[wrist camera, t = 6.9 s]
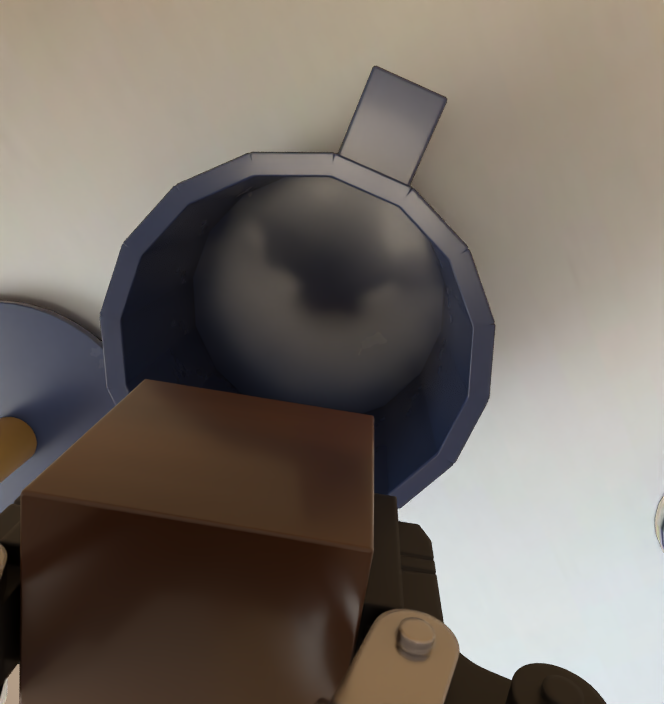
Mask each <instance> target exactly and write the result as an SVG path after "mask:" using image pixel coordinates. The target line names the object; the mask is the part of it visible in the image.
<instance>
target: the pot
mask: <svg viewBox="0 0 664 704" xmlns="http://www.w3.org/2000/svg"><path fill="white" fill-rule="evenodd" d="M446 103H447V98H446V97H444V96H442V95H440V94H438V93H436V92H433V91H431V90H429V89H427V88H425V87H422V86H420V85H418V84H416V83H414V82H411V81H409V80H407V79H405V78H402V77H400V76H398V75H396V74H394V73H391V72H389V71H387V70H385V69H383V68H380V67H378V66H374V67H373V68H372V70H371V73H370V75H369V78H368V80H367V83H366V85H365V88H364V90H363V93H362V95H361V98H360V100H359V102H358V105H357V107H356V110H355V112H354V115H353V117H352V120H351V122H350V125H349V127H348V130H347V132H346V135H345V137H344V139H343V142H342V144H341V147H340V149H339V152H338V154H337V153H333V152H251V153H246V154H244V155H242V156H240V157H237V158H235V159H233V160H230V161H228V162H226V163H224V164H221V165H219V166H217V167H215V168H212V169H210V170H208V171H205V172H203V173H201V174H199V175H196V176H194V177H192V178H189V179H187V180H185V181H183V182H180V183H178V184H177V185H176V186H173V188H172V189H171V190H170V191H169V192H168V193H167V194H166V195H165V196H164V198H163V199H162V200H161V201H160V202H159V203H158V204H157V205H156V206H155V208H154V209H153V210H152V211H151V212H150V213H149V214H148V215H147V217H146V218H145V219H144V220H143V221H142V222H141V223H140V224H139V225H138V227H137V228H136V229H135V230H134V231H133V232H132V233H131V234H130V235H129V237H128V238H127V239H126V240H125V241H124V244H122V246H121V250H120V253H119V256H118V259H117V262H116V265H115V268H114V271H113V275H112V278H111V281H110V284H109V287H108V290H107V293H106V297H105V300H104V303H103V306H102V309H101V312H100V325H101V335H102V346H103V356H104V366H105V377H106V387H107V388H108V392H109V394H110V396H111V398H112V400H113V402H114V403H115V405H117V404H118V403H119V402H120V401H121V400H123V399H124V398H125V397H126V396H127V395H128V394H129V393H130V392H131V391H133V390H134V389H135V388H136V387H137V386H138V385H139V384H140V383H141V382H142V381H144V380H145V379H149V380H155V381H162V382H168V383H174V384H180V385H186V386H193V387H199V388H205V389H211V390H217V391H224V392H230V393H236V394H242V395H248V396H255V397H261V398H267V399H273V400H279V401H286V402H292V403H298V404H304V405H310V406H317V407H323V408H329V409H335V410H341V411H348V412H354V413H360V414H366V415H372V416H374V493H378V494H384V495H390V496H396V498H397V510H398V508H401V507H403V506H404V505H405V504H406V503H407V502H409V501H410V500H411V499H412V498H413V497H415V496H416V495H417V494H418V493H420V492H421V491H422V490H423V489H424V488H426V487H427V486H428V485H429V484H431V483H432V482H433V481H434V480H435V479H437V478H438V477H439V476H440V475H442V474H443V473H444V472H445V471H446V470H448V469H449V468H450V467H451V466H453V464H454V463H455V462H456V461H457V459H458V457H459V455H460V453H461V451H462V449H463V447H464V446H465V444H466V442H467V440H468V438H469V436H470V434H471V433H472V431H473V429H474V427H475V425H476V423H477V421H478V419H479V418H480V416H481V414H482V412H483V410H484V408H485V406H486V404H487V403H488V399H489V398H490V385H491V373H492V361H493V348H494V336H495V324H494V323H495V321H494V318H493V315H492V312H491V310H490V307H489V304H488V301H487V298H486V295H485V292H484V289H483V286H482V284H481V281H480V278H479V275H478V272H477V269H476V266H475V263H474V260H473V258H472V255H471V252H470V250H469V249H468V246H467V245H466V244H465V243H464V242H463V241H462V240H461V239H460V238H459V237H458V235H457V234H456V233H455V232H454V231H453V230H452V229H451V228H450V227H449V226H448V225H447V224H446V222H445V221H444V220H443V219H442V218H441V217H440V216H439V215H438V214H437V213H436V212H435V211H434V209H433V208H432V207H431V206H430V205H429V204H428V203H427V202H426V201H425V200H424V199H423V198H422V196H421V195H420V194H419V193H418V192H417V191H416V190H415V189H414V188H412V187H411V186H410V184H411V182H412V179H413V177H414V175H415V173H416V170H417V168H418V166H419V164H420V161H421V159H422V157H423V155H424V152H425V150H426V148H427V146H428V143H429V141H430V139H431V137H432V134H433V132H434V130H435V128H436V125H437V123H438V121H439V119H440V116H441V114H442V112H443V109H444V107H445V105H446Z"/></svg>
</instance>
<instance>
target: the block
mask: <svg viewBox="0 0 664 704" xmlns="http://www.w3.org/2000/svg"><path fill="white" fill-rule="evenodd" d="M373 553H374V416H372V415H366V414H360V413H354V412H348V411H341V410H335V409H329V408H323V407H317V406H310V405H304V404H298V403H292V402H286V401H279V400H273V399H267V398H261V397H255V396H248V395H242V394H236V393H230V392H224V391H217V390H211V389H205V388H199V387H193V386H186V385H180V384H174V383H168V382H162V381H155V380H149V379H145V380H144V381H142V382H141V383H140V384H139V385H138V386H137V387H136V388H135V389H134V390H133V391H131V392H130V393H129V394H128V395H127V396H126V397H125V398H124V399H123V400H121V401H120V402H119V403H118V404H117V405H116V406H115V407H114V408H113V409H112V410H110V411H109V412H108V413H107V414H106V415H105V416H104V417H103V418H102V419H100V420H99V421H98V422H97V423H96V424H95V425H94V426H93V427H92V428H91V429H89V430H88V431H87V432H86V433H85V434H84V435H83V436H82V437H81V438H79V439H78V440H77V441H76V442H75V443H74V444H73V445H72V446H71V447H70V448H68V449H67V450H66V451H65V452H64V453H63V454H62V455H61V456H60V457H58V458H57V459H56V460H55V461H54V462H53V463H52V464H51V465H50V466H49V467H47V468H46V469H45V470H44V471H43V472H42V473H41V474H40V475H39V476H37V477H36V478H35V479H34V480H33V481H32V482H31V483H30V484H29V485H28V486H26V487H25V488H24V489H23V490H22V492H21V499H20V694H19V699H20V701H19V704H315V703H316V701H317V700H318V699H319V698H320V697H324V698H326V699H328V700H331V698H332V696H333V695H334V693H335V691H336V689H337V687H338V686H339V684H340V682H341V680H342V678H343V676H344V675H345V673H346V671H347V669H348V667H349V666H350V664H351V662H352V660H353V658H354V653H355V647H356V642H357V637H358V632H359V626H360V621H361V616H362V611H363V605H364V600H365V595H366V590H367V584H368V579H369V574H370V569H371V563H372V558H373Z"/></svg>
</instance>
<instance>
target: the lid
mask: <svg viewBox="0 0 664 704" xmlns="http://www.w3.org/2000/svg"><path fill="white" fill-rule="evenodd" d="M115 406H116V405H115V403H114V402H113V400H112V398H111V396H110V394H109V392H108V388H107V387H106V377H105V366H104V356H103V346H102V342H101V341H100V340H99V339H98V338H97V337H95V336H94V335H93V334H92V333H90V332H89V331H88V330H86V329H85V328H83V327H81V326H80V325H78V324H77V323H75V322H74V321H72V320H70V319H68V318H66V317H64V316H62V315H60V314H58V313H56V312H53V311H50V310H47V309H44V308H42V307H39V306H36V305H31V304H26V303H22V302H16V301H5V300H0V513H2V512H3V511H4V510H5V509H6V508H7V507H8V506H9V505H10V504H14V501H15V500H16V499H17V498H18V497H19V496H20V495H21V492H22V490H23V489H24V488H25V487H26V486H28V485H29V484H30V483H31V482H32V481H33V480H34V479H35V478H36V477H37V476H39V475H40V474H41V473H42V472H43V471H44V470H45V469H46V468H47V467H49V466H50V465H51V464H52V463H53V462H54V461H55V460H56V459H57V458H58V457H60V456H61V455H62V454H63V453H64V452H65V451H66V450H67V449H68V448H70V447H71V446H72V445H73V444H74V443H75V442H76V441H77V440H78V439H79V438H81V437H82V436H83V435H84V434H85V433H86V432H87V431H88V430H89V429H91V428H92V427H93V426H94V425H95V424H96V423H97V422H98V421H99V420H100V419H102V418H103V417H104V416H105V415H106V414H107V413H108V412H109V411H110V410H112V409H113V408H114V407H115Z"/></svg>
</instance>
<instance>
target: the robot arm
mask: <svg viewBox="0 0 664 704" xmlns="http://www.w3.org/2000/svg"><path fill="white" fill-rule="evenodd" d="M20 499H21V495H20V496H19V497H18V498H17V499H16V500H15V501H14V504H10V505H9V506H8V507H7V508H6V509H5V510H4V511H3V512H2V513H0V704H5V701H6V697H7V678H8V676H9V675H10V674H11V672H12V671H13V669H14V668H15V667H16V665H17V664H20ZM433 558H434V556H433V550H432V543H431V540H430V539H429V537H428V536H427V535H426V533H425V532H424V531H423V529H422V528H421V527H420V526H419V525H418V524H412V523H406V522H400V521H398V510H397V498H396V496H390V495H384V494H378V493H374V553H373V558H372V563H371V569H370V574H369V579H368V584H367V590H366V595H365V600H364V605H363V611H362V616H361V621H360V626H359V632H358V637H357V642H356V647H355V653H354V658H353V660H352V662H351V664H350V666H349V667H348V669H347V671H346V673H345V675H344V676H343V678H342V680H341V682H340V684H339V686H338V687H337V689H336V691H335V693H334V695H333V696H332V698H331V700H328V699H326V698H324V697H320V698H319V699H318V700H317V701H316V703H315V704H606V702H605V701H604V699H603V698H602V697H601V696H600V694H599V693H598V692H597V691H596V690H595V689H594V688H593V687H592V686H591V685H590V684H589V683H587V682H586V681H585V680H583V679H582V678H580V677H579V676H577V675H576V674H574V673H572V672H570V671H568V670H566V669H563V668H561V667H558V666H554V665H550V664H544V663H533V664H528V665H525V666H523V667H521V668H519V669H518V670H517V671H516V672H515V674H514V676H513V678H512V680H510V679H507V678H505V677H503V676H500V675H498V674H495V673H493V672H491V671H488V670H486V669H484V668H482V667H480V666H478V665H476V664H475V663H473V662H471V661H470V660H468V659H467V658H466V657H464V656H463V655H462V654H461V653H460V651H459V644H458V641H457V639H456V637H455V635H454V634H453V632H452V631H451V630H450V629H449V628H448V627H447V626H446V625H445V624H444V622H443V615H442V609H441V602H440V595H439V589H438V582H437V576H436V575H435V573H436V569H435V563H434V561H433Z"/></svg>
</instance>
